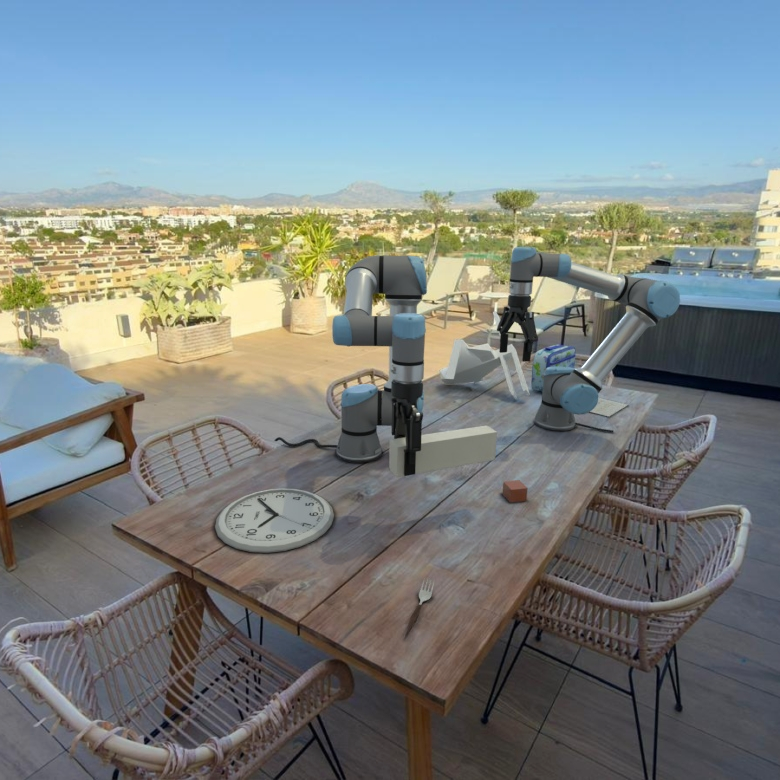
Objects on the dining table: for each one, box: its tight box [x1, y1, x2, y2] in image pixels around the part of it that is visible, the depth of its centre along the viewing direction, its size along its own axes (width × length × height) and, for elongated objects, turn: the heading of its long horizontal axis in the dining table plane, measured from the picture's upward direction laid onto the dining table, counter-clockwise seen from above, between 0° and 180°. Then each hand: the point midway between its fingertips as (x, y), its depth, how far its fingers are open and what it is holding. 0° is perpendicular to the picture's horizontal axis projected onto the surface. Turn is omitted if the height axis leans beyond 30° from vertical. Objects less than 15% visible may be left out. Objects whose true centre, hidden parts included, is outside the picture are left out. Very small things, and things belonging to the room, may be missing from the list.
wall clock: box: [214, 488, 335, 554], centre depth 135 cm, size 30×2×30 cm
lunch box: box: [530, 344, 577, 392], centre depth 247 cm, size 26×11×21 cm, turn 134°
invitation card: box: [589, 397, 629, 418], centre depth 226 cm, size 21×1×15 cm
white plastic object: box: [438, 310, 531, 400], centre depth 245 cm, size 37×45×31 cm
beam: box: [388, 425, 498, 478], centre depth 133 cm, size 28×5×8 cm, turn 112°
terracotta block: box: [502, 479, 528, 503], centre depth 148 cm, size 5×5×4 cm
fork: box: [405, 577, 435, 637], centre depth 104 cm, size 3×16×2 cm, turn 160°
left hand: (404, 469), depth 130 cm, fingers closed on beam, 5 cm apart
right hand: (514, 356), depth 181 cm, fingers open, 13 cm apart
